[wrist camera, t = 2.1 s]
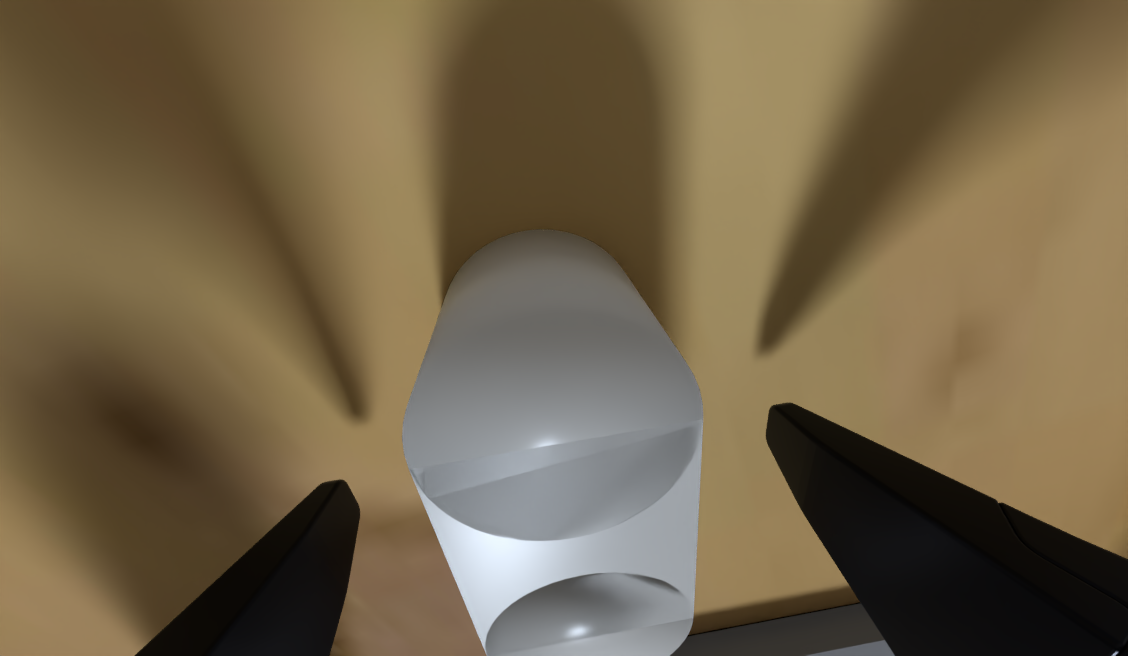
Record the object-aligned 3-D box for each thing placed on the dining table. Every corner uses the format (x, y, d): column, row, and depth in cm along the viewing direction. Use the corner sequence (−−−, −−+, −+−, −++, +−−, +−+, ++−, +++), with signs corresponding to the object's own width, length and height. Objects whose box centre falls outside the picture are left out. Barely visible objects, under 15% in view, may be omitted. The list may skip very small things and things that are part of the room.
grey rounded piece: (631, 213, 8) (710, 283, 5) (647, 574, 13) (688, 716, 10) (418, 246, 8) (355, 339, 5) (522, 597, 13) (525, 747, 10)
